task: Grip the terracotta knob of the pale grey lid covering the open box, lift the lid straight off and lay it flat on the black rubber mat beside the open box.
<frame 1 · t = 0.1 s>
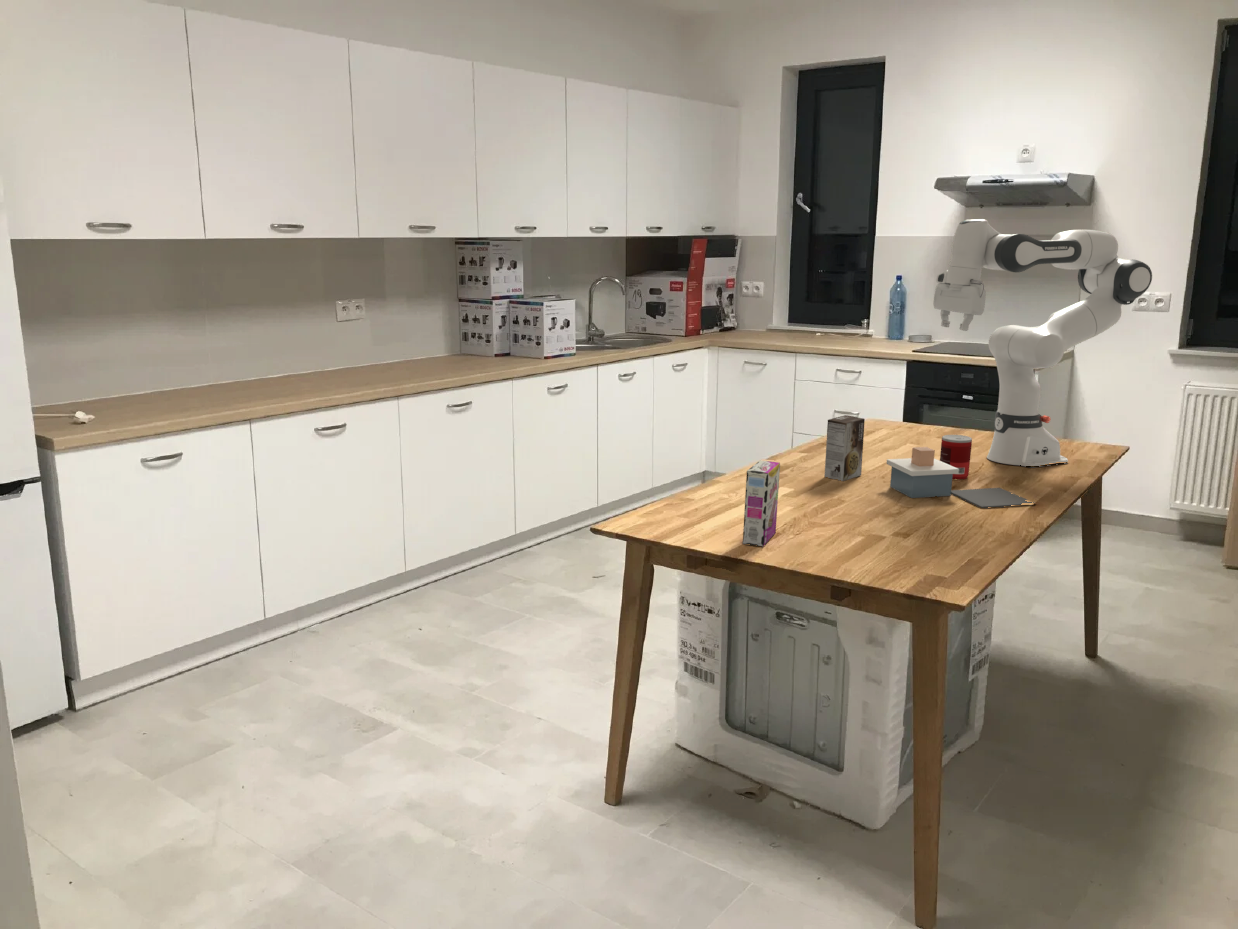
hand: (954, 328, 269), 39 cm above the table, tool pointing down, fingers open, 8 cm apart
canned food: (953, 477, 264), on the table
coffee box: (842, 477, 263), on the table
candy bar box: (760, 540, 210), on the table
mat: (990, 498, 243), on the table
open box: (919, 491, 249), on the table
lid: (921, 468, 248), point 6 cm above the table, touching open box
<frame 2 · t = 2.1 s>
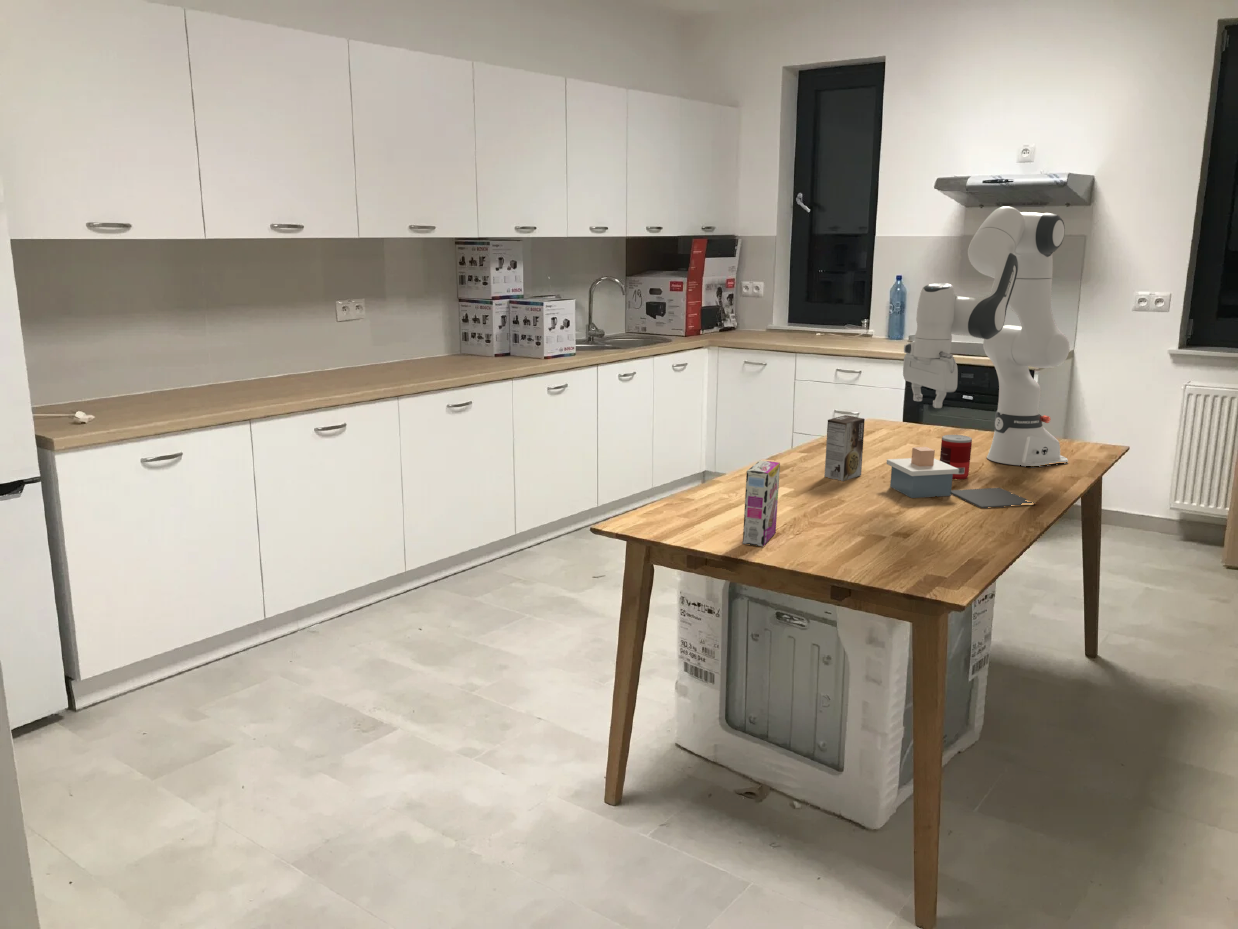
hand: (927, 404, 244), 23 cm above the table, tool pointing down, fingers open, 8 cm apart
nothing on the table moved.
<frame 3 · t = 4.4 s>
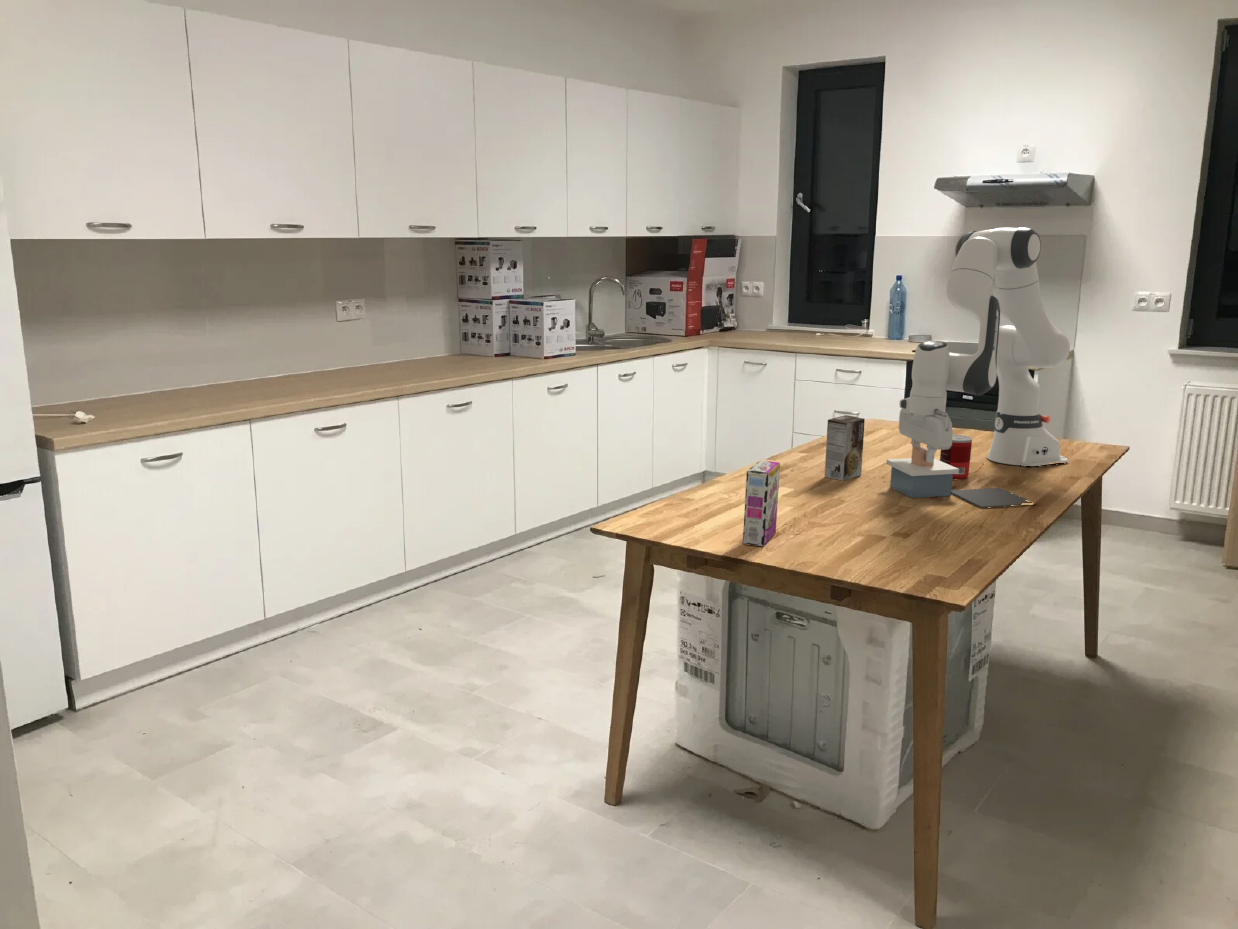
hand: (922, 459, 247), 8 cm above the table, tool pointing down, fingers closed on lid, 4 cm apart
lid: (921, 468, 248), point 6 cm above the table, touching open box, gripper
everything else where it was.
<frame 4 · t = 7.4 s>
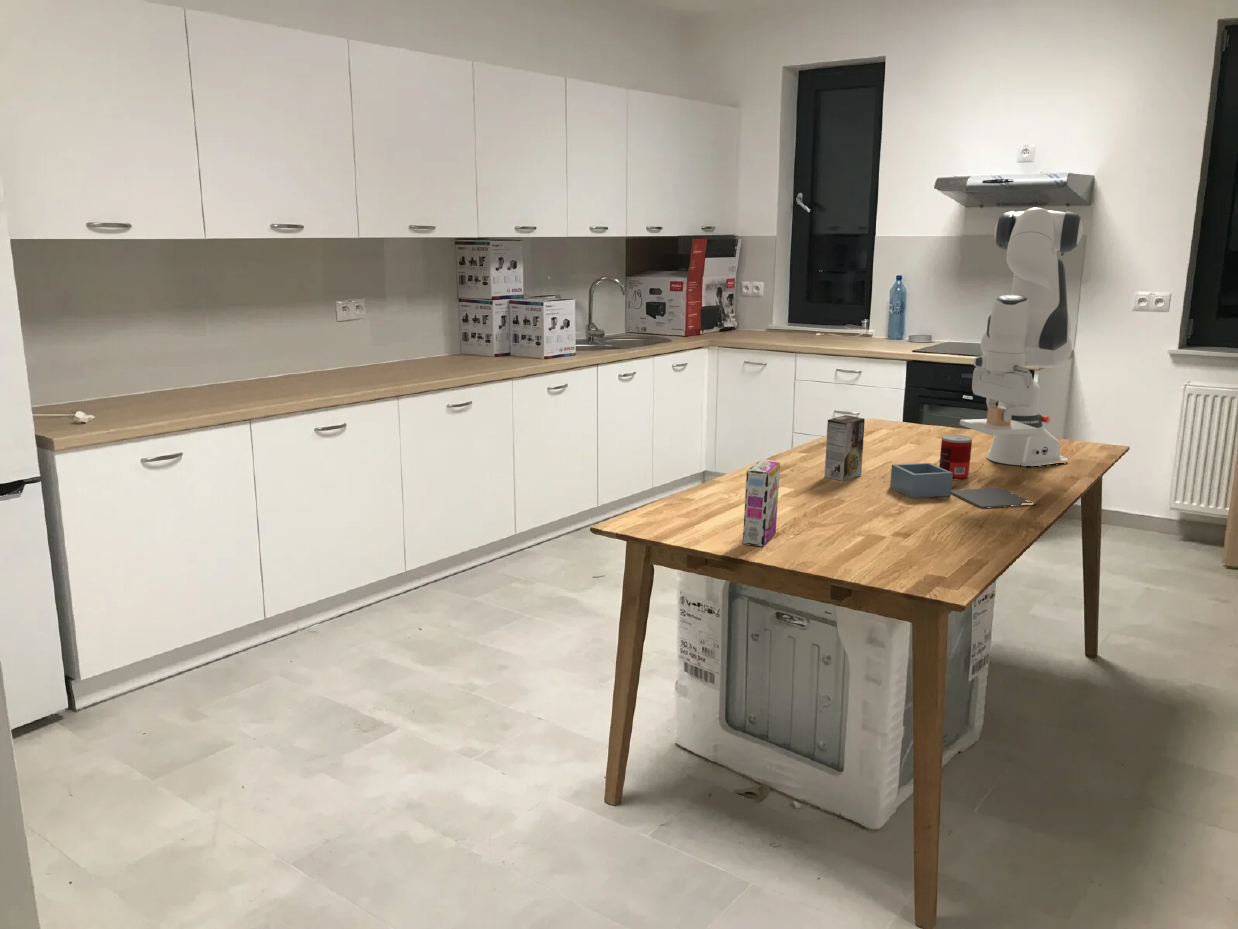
hand: (999, 418, 238), 20 cm above the table, tool pointing down, fingers closed on lid, 4 cm apart
lid: (997, 428, 239), point 18 cm above the table, touching gripper
everything else where it was.
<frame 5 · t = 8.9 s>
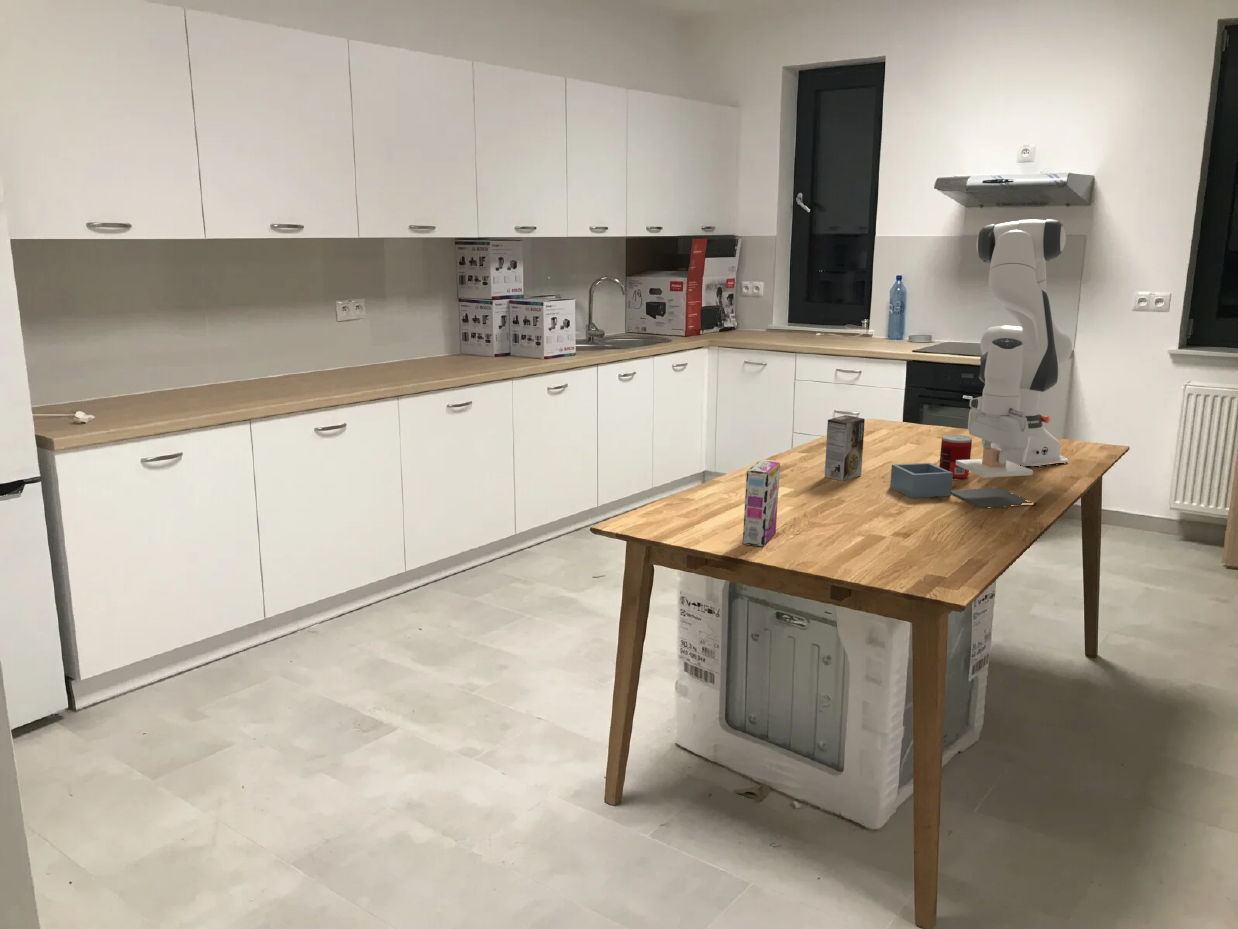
hand: (994, 460, 240), 10 cm above the table, tool pointing down, fingers closed on lid, 4 cm apart
lid: (993, 469, 241), point 8 cm above the table, touching gripper
everything else where it was.
when the fingers open (4 cm above the table, at t = 10.3 s): lid drops 1 cm, resting on mat.
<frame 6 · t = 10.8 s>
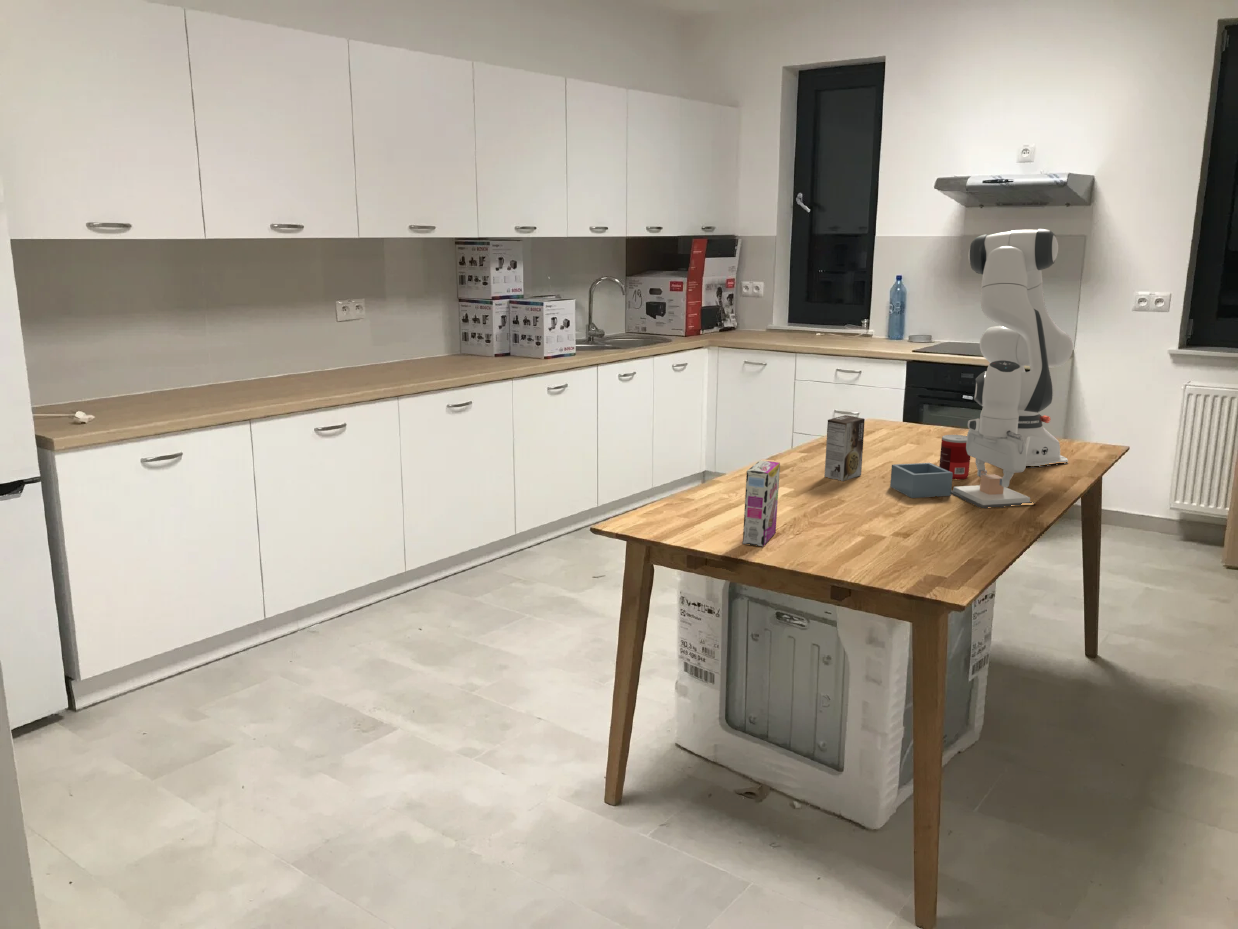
hand: (992, 481, 242), 4 cm above the table, tool pointing down, fingers open, 8 cm apart
lid: (990, 496, 243), resting on mat
everything else where it was.
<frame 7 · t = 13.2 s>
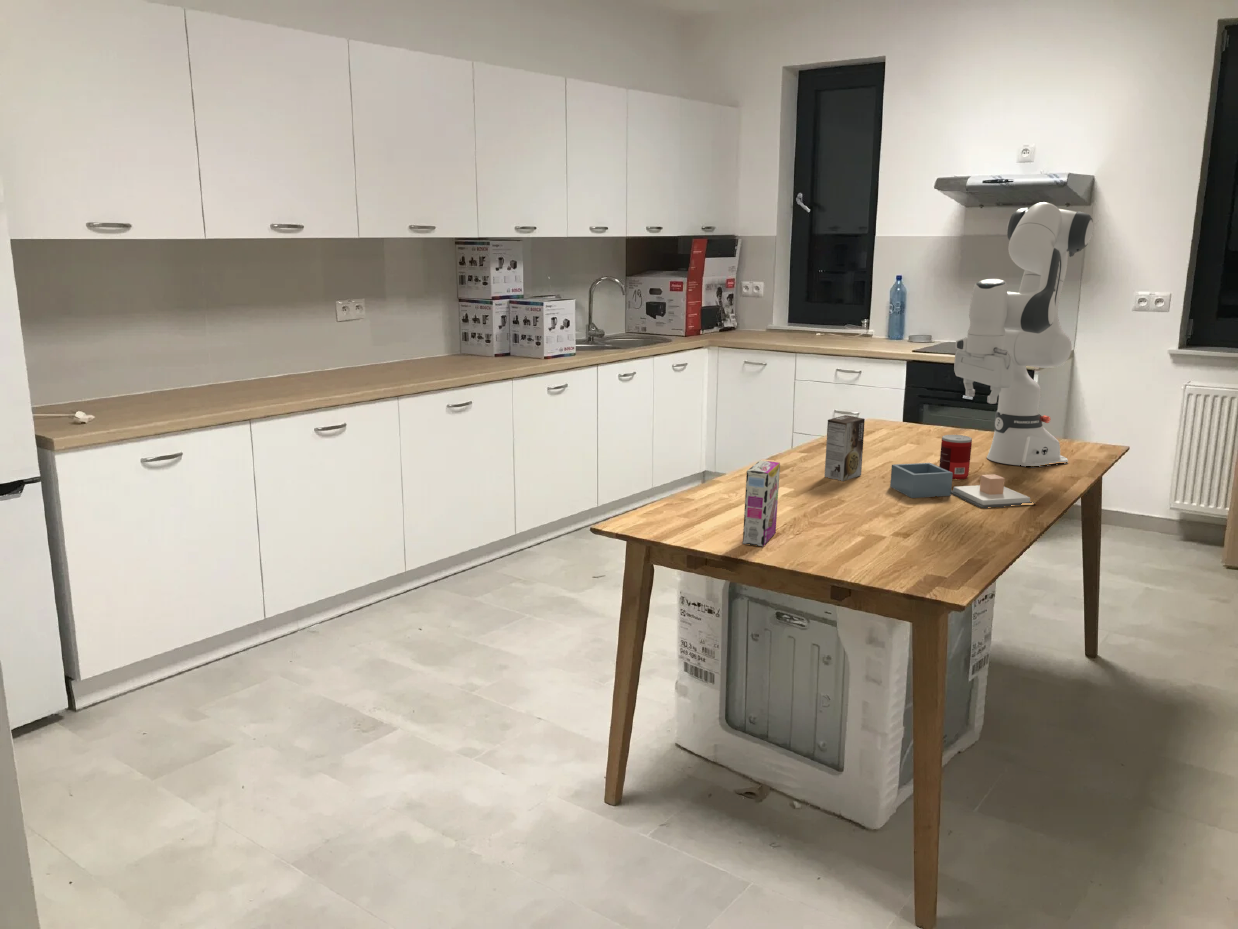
hand: (980, 399, 245), 24 cm above the table, tool pointing down, fingers open, 8 cm apart
nothing on the table moved.
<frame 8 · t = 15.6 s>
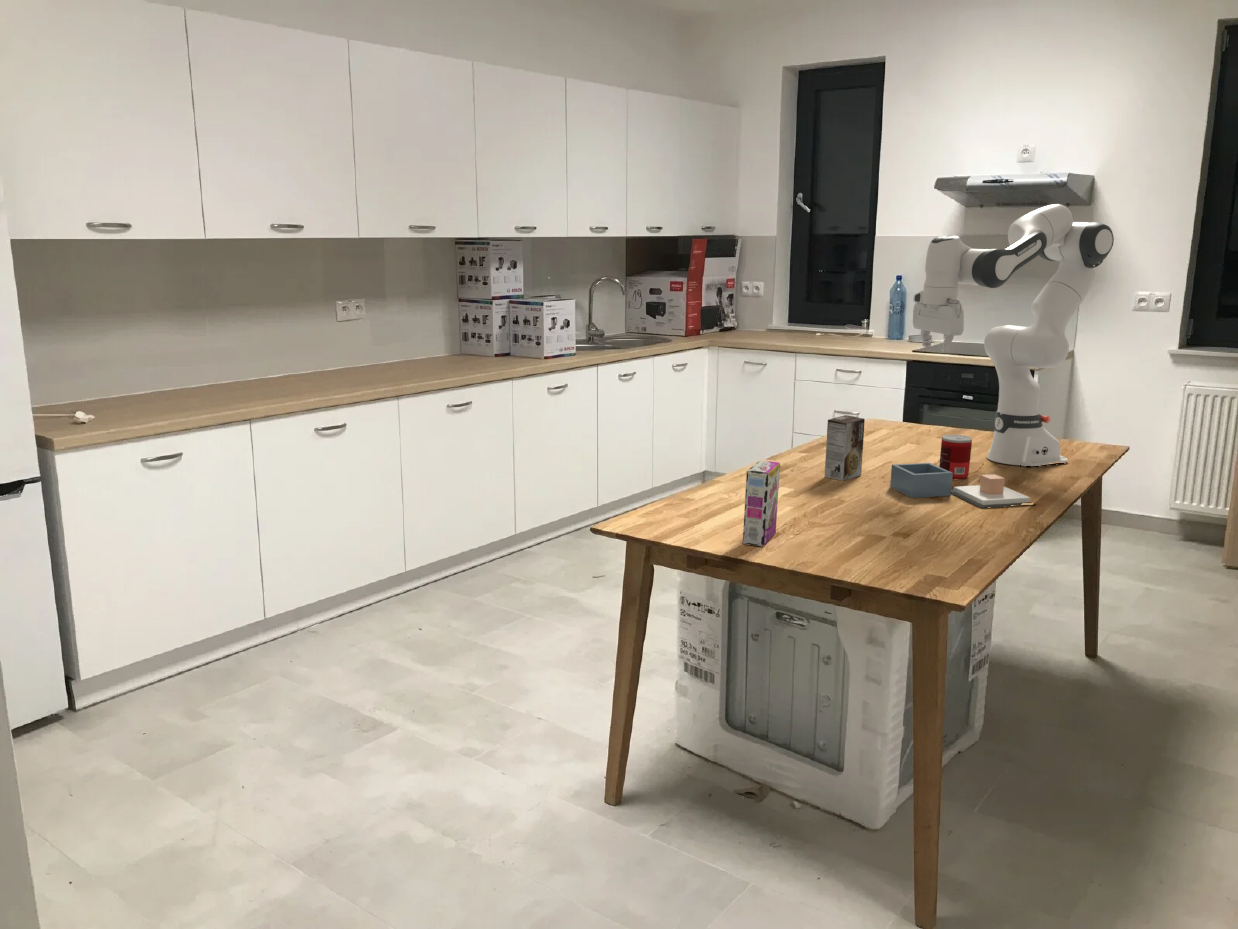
hand: (935, 348, 263), 34 cm above the table, tool pointing down, fingers open, 8 cm apart
nothing on the table moved.
at the end: lid inside the target area on the mat (0.1 cm from its centre), point 0.5 cm above the mat's base; lid tilted 0°; the gripper is holding nothing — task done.
